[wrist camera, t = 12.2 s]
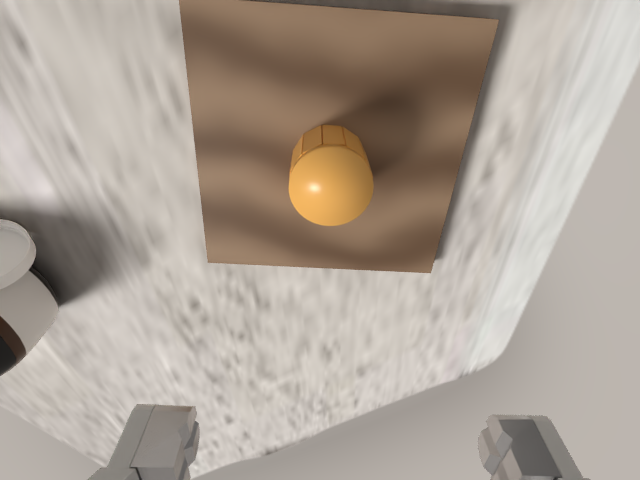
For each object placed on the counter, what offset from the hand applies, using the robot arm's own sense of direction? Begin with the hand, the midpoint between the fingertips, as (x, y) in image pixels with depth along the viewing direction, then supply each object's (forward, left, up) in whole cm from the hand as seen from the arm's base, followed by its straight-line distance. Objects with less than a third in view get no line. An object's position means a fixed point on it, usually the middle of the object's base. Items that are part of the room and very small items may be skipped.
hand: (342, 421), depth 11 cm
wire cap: (+1, 0, -22) cm, 22 cm away
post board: (+1, 0, -23) cm, 23 cm away
